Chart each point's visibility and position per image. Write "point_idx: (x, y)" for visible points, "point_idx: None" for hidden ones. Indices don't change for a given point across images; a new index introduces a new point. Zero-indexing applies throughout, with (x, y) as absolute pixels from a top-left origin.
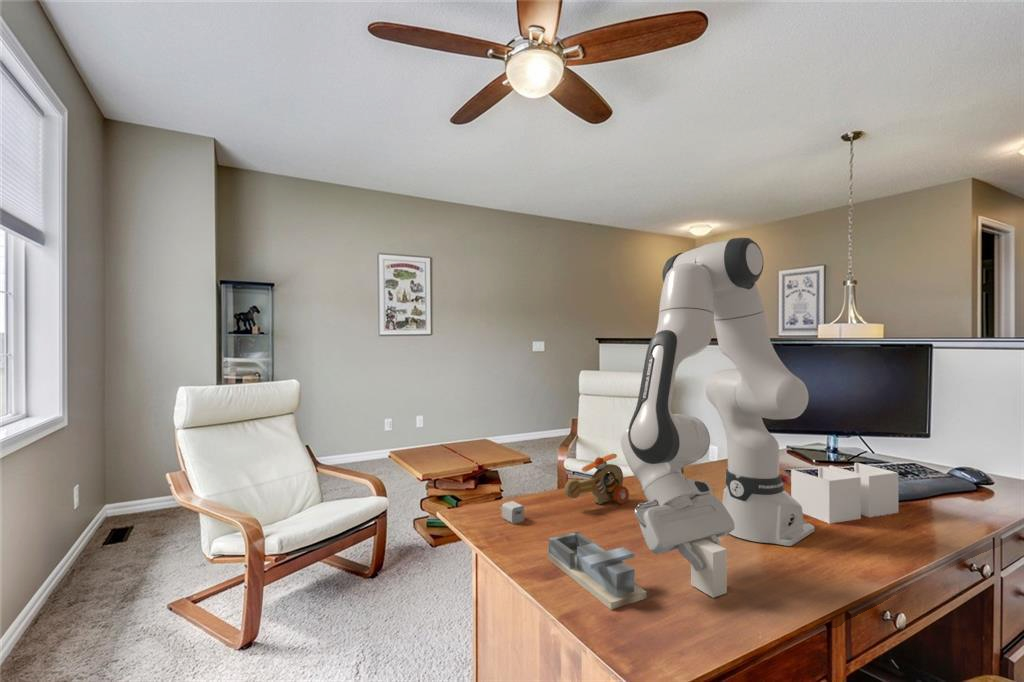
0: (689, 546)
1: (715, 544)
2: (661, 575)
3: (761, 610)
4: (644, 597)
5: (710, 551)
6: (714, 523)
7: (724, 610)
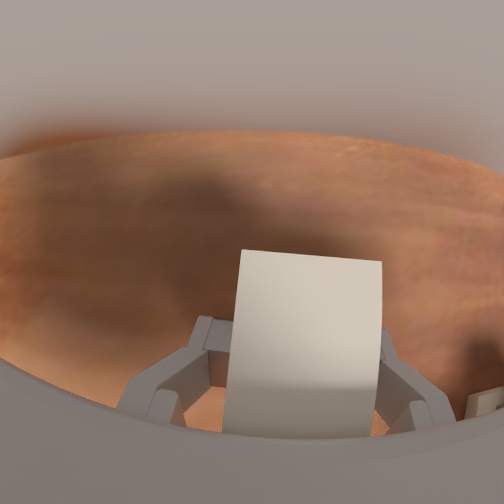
0: (425, 410)
1: (240, 344)
2: None
3: (245, 195)
4: (475, 393)
5: (380, 284)
6: (50, 451)
7: (341, 249)
